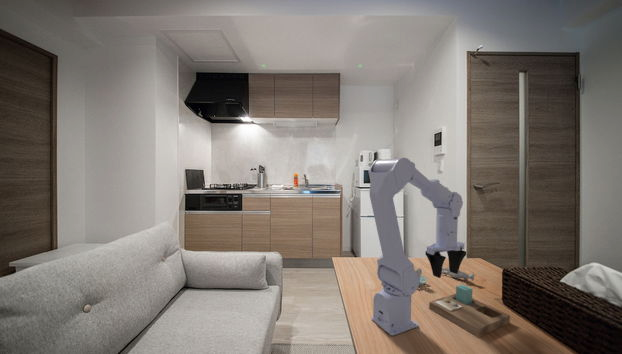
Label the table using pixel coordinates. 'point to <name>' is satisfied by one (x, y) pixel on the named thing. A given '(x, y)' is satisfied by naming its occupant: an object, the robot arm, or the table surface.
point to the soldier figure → (458, 274)
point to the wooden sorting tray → (470, 315)
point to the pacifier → (421, 277)
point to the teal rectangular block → (464, 294)
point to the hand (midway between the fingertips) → (445, 274)
